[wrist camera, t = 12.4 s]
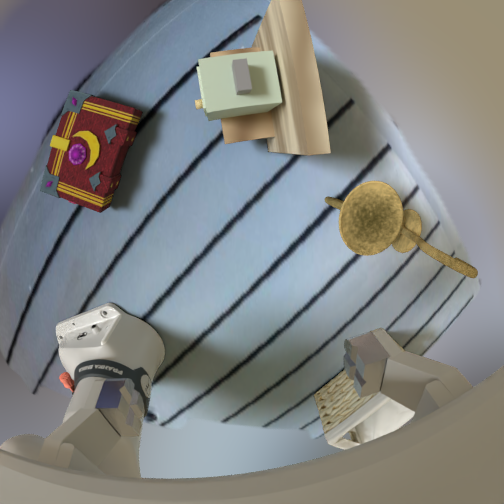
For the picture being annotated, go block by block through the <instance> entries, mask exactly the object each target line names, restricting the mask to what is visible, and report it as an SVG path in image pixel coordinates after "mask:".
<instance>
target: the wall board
mask: <svg viewBox="0 0 504 504" xmlns="http://www.w3.org/2000/svg"><path fill="white" fill-rule="evenodd" d="M260 51H273V54H274V59H275V64H276V70H277V75H278V81H279V86H280V92H281V98H282V103H281V104H279V105H277V106H276V107H274V108H273V109H271V110H270V111H268V112H265V113H257V114H250V115H242V116H236V117H229V118H223V119H221V123H222V129H223V135H224V141H225V144H229V143H235V142H241V141H247V140H254V139H261V138H266V140H267V146H268V152H278V153H289V154H299V155H317V154H326V153H331V151H330V143H329V135H328V128H327V121H326V114H325V108H324V102H323V96H322V90H321V84H320V79H319V73H318V68H317V63H316V58H315V54H314V49H313V44H312V40H311V35H310V31H309V27H308V23H307V19H306V15H305V11H304V7H303V4H302V0H271V2H270V5H269V7H268V9H267V11H266V14H265V16H264V18H263V21H262V23H261V25H260V28H259V30H258V33H257V35H256V38H255V40H254V42H253V45H252V47H251V48H245V49H236V50H227V51H220V52H214V53H210V57H216V56H223V55H231V54H239V53H248V52H260Z"/></svg>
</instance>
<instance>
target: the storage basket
mask: <svg viewBox="0 0 504 504" xmlns="http://www.w3.org/2000/svg"><path fill="white" fill-rule="evenodd" d="M389 336H390V335H389ZM390 337H391V336H390ZM391 338H392V337H391ZM393 341H394V342H395V343H396V344H397V342H396V341H395V340H393ZM397 345H398V347H399V348H400V349H401V350H402V351H403V352H405V350H404V349H403V348H402V347H401V346H400V345H399V344H397ZM353 385H354V380H352V379H349V377H348V375H347V373H346V371H345V369H344V370H343V371H341V372H340V373H339V374H338V375H337V376H336V377H335V378H334V379H332V380H331V381H330V382H329V383H327V384H326V385H325V386H324V387H322V388H321V389H320V390H319V391H317V392H316V393H315V394H314V398H315V401H316V405H317V408H318V410H319V415H320V418H321V421H322V425H323V430H324V433H325V438H326V440H327V442H328V444H329V445H332V446H334V447H338V448H341V449H345V450H346V449H349V448H352V447H355V446H357V445H360V444H363V443H366V442H368V441H371V440H373V439H376V438H378V437H381V436H383V435H386V434H388V433H390V432H393V431H395V430H397V429H398V428H400V427H401V426H402V425H404V424H405V423H406V422H407V421H408V420H410V419H411V418H412V417H413V416H414V414H415V412H414V411H412V410H410V409H408V408H406V407H405V406H403V405H401V404H399V403H398V402H396V401H394V400H392V399H391V398H389V397H387V396H385V395H384V394H382V393H380V392H377V393H374V394H372V395H369V396H366V397H363V398H360V397H359V396H358V394H357V392H356V390H355V388H354V387H353ZM347 432H348V433H349V434H350V436H351V439H352V440H347V439H345V438H343V437H342V436H343V435H345V434H346V433H347Z"/></svg>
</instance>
